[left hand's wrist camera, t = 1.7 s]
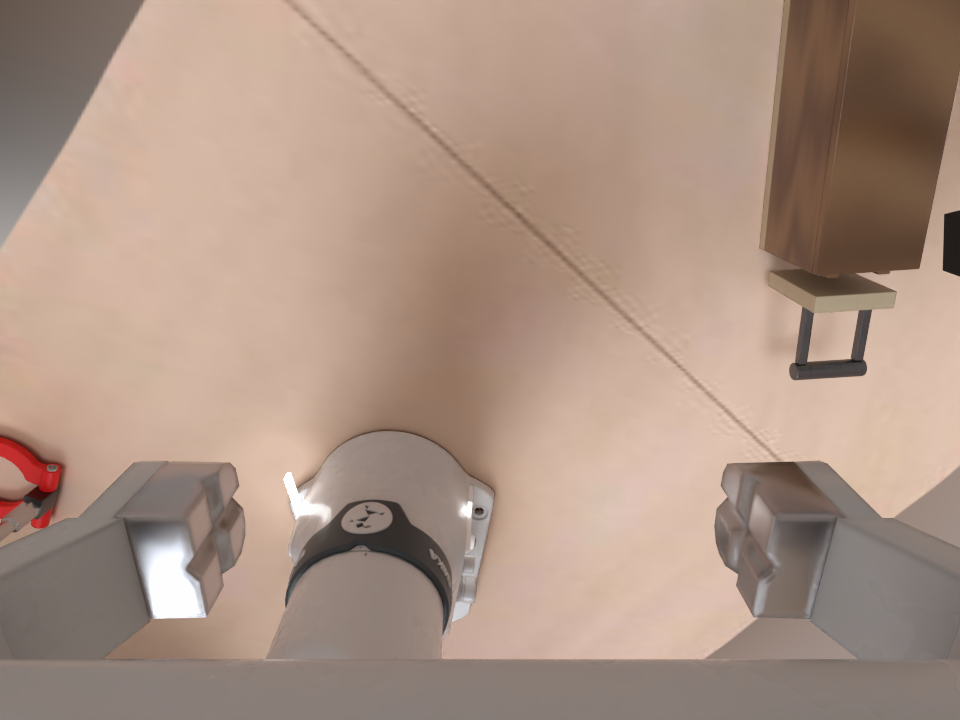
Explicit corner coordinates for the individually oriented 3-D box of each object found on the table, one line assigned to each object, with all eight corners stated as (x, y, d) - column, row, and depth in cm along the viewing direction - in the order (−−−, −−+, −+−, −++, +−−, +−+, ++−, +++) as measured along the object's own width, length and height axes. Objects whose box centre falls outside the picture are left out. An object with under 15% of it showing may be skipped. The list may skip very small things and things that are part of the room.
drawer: (826, 349, 51) (879, 386, 44) (760, 354, 51) (802, 391, 44) (872, 47, 42) (946, 35, 35) (793, 53, 42) (852, 42, 36)
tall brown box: (844, 242, 48) (919, 269, 40) (759, 248, 48) (816, 276, 40) (884, -17, 41) (985, -49, 33) (785, -9, 42) (861, -39, 33)
